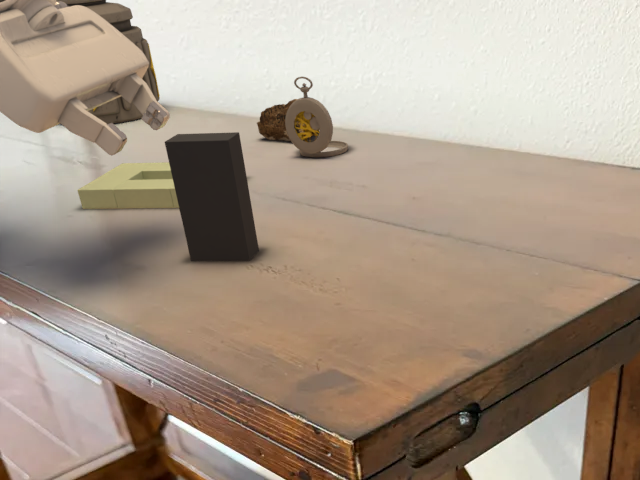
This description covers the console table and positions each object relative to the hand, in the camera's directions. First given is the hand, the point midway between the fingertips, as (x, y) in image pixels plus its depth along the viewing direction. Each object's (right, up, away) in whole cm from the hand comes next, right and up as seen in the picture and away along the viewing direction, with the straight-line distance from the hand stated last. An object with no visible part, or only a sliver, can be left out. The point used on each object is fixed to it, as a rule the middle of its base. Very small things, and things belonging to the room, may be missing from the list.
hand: (143, 135), depth 74 cm
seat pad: (-5, +5, +26) cm, 27 cm away
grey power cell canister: (-29, +38, +70) cm, 85 cm away
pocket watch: (+12, +15, +37) cm, 42 cm away
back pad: (+6, -9, +6) cm, 13 cm away
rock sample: (+7, +22, +46) cm, 52 cm away
